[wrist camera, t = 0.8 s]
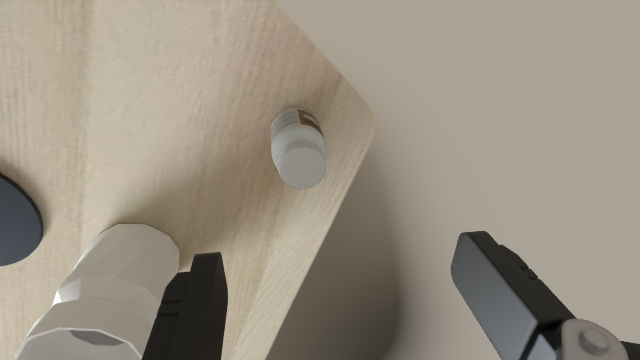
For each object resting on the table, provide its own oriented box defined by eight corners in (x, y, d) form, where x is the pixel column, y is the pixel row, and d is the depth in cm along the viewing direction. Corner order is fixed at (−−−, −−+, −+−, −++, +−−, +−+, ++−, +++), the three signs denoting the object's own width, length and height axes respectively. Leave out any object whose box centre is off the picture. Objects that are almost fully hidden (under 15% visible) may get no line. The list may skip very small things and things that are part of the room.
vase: (179, 287, 38) (146, 399, 28) (93, 281, 36) (23, 399, 26) (184, 226, 34) (147, 329, 24) (87, 215, 32) (2, 323, 22)
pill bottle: (327, 136, 32) (343, 176, 25) (287, 159, 32) (292, 204, 25) (304, 96, 29) (314, 128, 23) (261, 122, 30) (259, 160, 23)
